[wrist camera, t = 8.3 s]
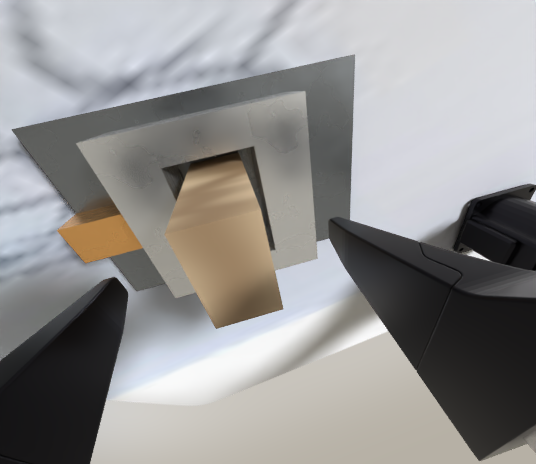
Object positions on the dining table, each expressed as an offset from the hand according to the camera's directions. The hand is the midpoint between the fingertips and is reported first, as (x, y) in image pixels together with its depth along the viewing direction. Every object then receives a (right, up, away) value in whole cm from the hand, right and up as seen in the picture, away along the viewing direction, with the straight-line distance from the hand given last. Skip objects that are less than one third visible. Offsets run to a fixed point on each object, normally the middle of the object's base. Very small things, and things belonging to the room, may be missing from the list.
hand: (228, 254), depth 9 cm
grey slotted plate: (-1, +4, +6) cm, 8 cm away
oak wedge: (-1, +3, +6) cm, 7 cm away
